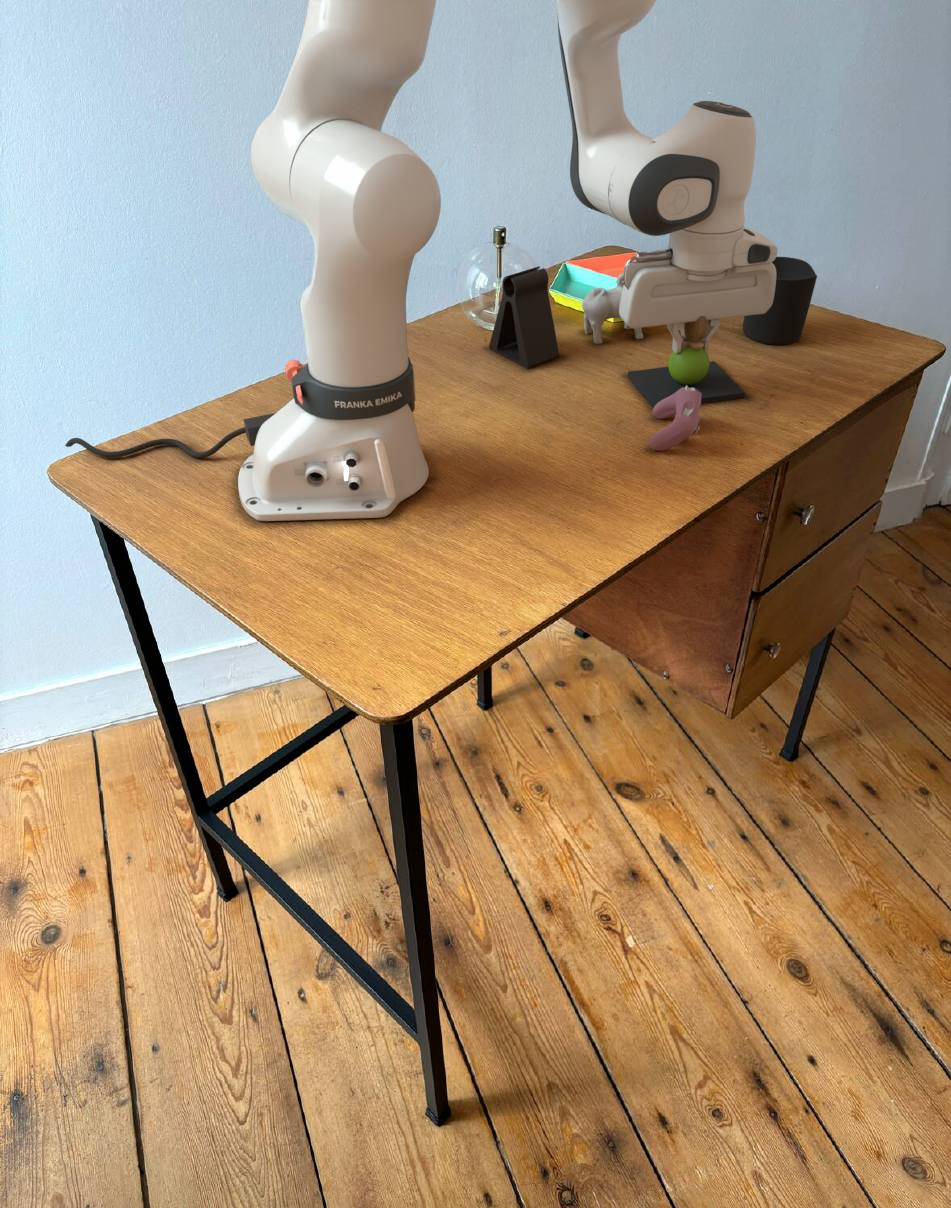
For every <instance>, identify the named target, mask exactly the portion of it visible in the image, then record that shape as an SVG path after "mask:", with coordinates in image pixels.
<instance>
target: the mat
mask: <svg viewBox="0 0 951 1208" xmlns="http://www.w3.org/2000/svg"><path fill="white" fill-rule="evenodd" d="M627 378H628V379H629V380H630V382H631V383H632V384H633V386H634V387H635V388H636V389H637V390H638V391H639V393H640V394H641V396H643V398H644V399H645V400H646V401H647V403H648V404H649V406H650V407H651V408H652V409H653V408H654V406H655V405H656V404H657V403H658V402H660V401H661V400H663V399H665V398H667V397H669V396H671V395H672V394H674V393H675V392H677V391H678V390H679V389H680V388H685V387H686V384H681V383H679V382H677V381H676V380H675V379H674V378H673V377H672V376H671V374H670V371H669V366H663V367H655V368H654V367H653V368H647V369H638V370H630V371H628V372H627ZM687 386H688V388H695V389H697V390H699V392H701V393H702V396H701V404H707V403H714V402H715V403H716V402H722V401H730V400H736V399H737V400H738V399H745V397H746V391H744V390H743V389H742V387H740V385H739V384H738V383H737V382H735V380H734V379H733V378H732V377H731V376H730V375H729V374H728V373H727V372H726V371H725V370H724V369H722V367H721V366H720V365H719V364H718V363H717V362H716V360H715V361H710V365H709V370H708V372H707V374H706V375H705V377H704V378H703V379H702V380H701V381H699V382H697V383H695V384H690V385H687Z"/></svg>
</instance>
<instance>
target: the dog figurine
mask: <svg viewBox="0 0 951 1208" xmlns="http://www.w3.org/2000/svg"><path fill="white" fill-rule="evenodd" d="M623 274H624V272H621V273H620V274H619V275H618V276H617V278H616V282H615V283H616V287H613V288H611V289H605V288H604V287H596V288H593V289H591V290H590V291H589V293H588V294H587V295H585V296H584V298H583V300H582V302H581V303H582V304H581V306H582V307H581V308H582V310H583V313H584V315H583V321H584V323H583V326H584V327H583V330H584V332H585V334H592V333H593V343H594V344H595V345H596V344H597V345H599V344H600V345H601V344H603V343H604V341H603V339H602V330H603V329H602V328H603V325H604V323H605V322H606V321H607V320H610V319H622V318H621V317H620V315H619V306H620V300H621V295H622V290H623V286H624V282H623ZM623 323H624V329H626V330H632V329H633V330H634V338H635V339H637V340H640V339H644V334H643V332H642V331H643V329H642V328H630V327H629V326H628V325H627V324H626V323H625V322H624V321H623Z"/></svg>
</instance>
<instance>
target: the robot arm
mask: <svg viewBox="0 0 951 1208" xmlns="http://www.w3.org/2000/svg"><path fill="white" fill-rule="evenodd" d="M656 2H657V0H556V5H557V34H558V43H559V51H560V57H561V58H560V59H561V64H562V71H563V77H564V82H565V83H564V84H565V89H566V95H567V103H568V108H569V114H570V121H571V122H570V123H571V129H572V131H571V133H572V143H571V152H570V163H569V179H570V185H571V188H572V190H573V194H575V196H576V198H577V199H578V201H579V202H580V203H581V204H582V205H583V206H584V207H586V208H588V209H590V210H593V211H596V212H598V213H601V214H604V215H606V216H609V217H610V218H612V219H614V220H616V221H617V222H619V223H621V224H623V225H625V226H628V227H629V228H631V229H633V230H635V231H637V232H638V233H641V234H644V235H648V236H651V237H659V236H666V235H669V237H668V246H667V249H658V250H654V251H640V252H639V251H638V252H636V254H635V256H633V257H631V258H629V260H627V261H626V262H625V263H624V267H623V273H624V274H623V282H624V286H623V290H622V295H621V300H620V306H619V315H620V317H621V318H620V319H621V320H622V321H623V323H624V322H625V323H626V324H627V325H628V326H629V327H630V328H632V329H634V328H651V327H659V326H666V327H667V329H668V331H669V333H670V335H671V337H672V344H671V349H672V352H673V351H674V352H675V353H676V354H678V353H681V352H682V351H684V350H686V349H687V346H688V342H689V341H688V340H687V339H685V337H684V336H682V335H681V333H680V330H682V329H683V323H687V322H695V321H697V319H698V318H699V317H700V316H705V318H706V322H707V331H706V335H705V337H704V338H703V339H702V340H701V341H700V342H701V343H703V344H704V346H703V347H702V349H704V350H705V351H708V350H709V345H710V339H712V337H714V335H715V333H716V332H717V330H718V329H719V328H720V327H721V320H722V319H730V318H739V317H744V316H749V315H758V314H764V313H766V312H767V311H768V310H769V308H770V307H771V306H772V303H773V299H774V294H775V286H776V268H775V266H774V264H773V263H772V262H773V261H774V260H775V258H776V257H778V256H777V255H778V249H779V248H778V246H777V245H776V244H775V243H774V242H773V241H772V240H770V239H769V238H767V237H766V236H765V235H764V234H762V233H760V232H758V231H756V230H754V229H751V228H748V227H745V221H746V218H745V217H746V216H745V202H746V199H747V196H748V194H749V192H750V190H751V186H752V179H753V173H754V172H753V171H754V166H755V160H756V159H755V158H756V145H757V130H756V122H755V119H754V117H753V116H752V115H751V113H750V112H749V111H747V110H746V109H743V108H741V107H739V106H735V105H733V104H726V103H723V102H719V101H713V100H700V101H696V102H693V103H692V104H691V105H690V107H689V110H688V111H687V113H686V114H685V115H684V116H683V117H682V118H681V119H680V121H678V122H677V123H676V124H675V125H674V126H672V127H671V128H670V129H668V130H667V131H664V133H661V134H660V135H658V136H655V137H653V138H652V137H650V136H647V135H645V134H643V133H641V132H640V131H639V130H638V129H637V128H636V127H635V126H634V125H633V124H632V122H631V121H630V120H629V118H628V117H627V115H626V111H625V107H624V99H623V89H622V82H621V81H622V80H621V72H620V64H619V53H618V51H619V43H620V39H621V36H622V35H623V34H625V33H626V32H628V31H630V30H631V29H633V28H634V27H636V26H637V25H638V24H640V23H641V22H642V21H643V20H644V19H645V18H646V17H647V15H648V14H649V13H650V11H651V10H652V9H653V7H654V6H655V4H656ZM436 4H437V0H308V5H307V11H306V17H305V22H304V25H303V30H302V34H301V38H300V41H299V43H298V44H299V45H298V48H297V51H296V54H295V57H294V60H293V62H292V65H291V68H290V70H289V72H288V76H287V78H286V80H285V83H284V86H283V89H282V91H281V93H280V96H279V98H278V100H277V103H276V106H275V107H274V108H273V110H272V112H271V113H269V115H267V116H266V117H265V118H264V119H263V121H262V122H260V125H259V126H258V128H257V129H256V132H255V133H254V137H253V140H252V143H251V149H250V162H251V166H252V171H253V175H254V177H255V180H256V181H257V183H258V185H259V186H260V188H261V190H262V191H263V192H264V194H265V195H266V196H267V198H268V199H269V200H270V201H271V202H272V204H273V205H274V206H275V208H277V210H279V211H280V212H281V213H282V214H283V215H285V216H286V217H288V218H290V219H291V220H293V221H294V222H297V223H299V224H300V225H302V226H303V227H305V228H307V229H308V231H309V234H310V236H311V238H312V242H313V247H314V249H313V250H314V256H313V257H314V258H313V268H312V276H311V280H310V281H311V282H310V284H309V285H307V287H306V288H305V290H304V291H303V292H302V295H301V298H300V305H299V306H300V315H301V321H302V329H303V337H304V345H305V352H306V359H307V363H306V364H305V365H304V366H303V364H302V363H301V362H300V361H299V360H297V359H290V360H289V361H287V362H286V364H285V365H284V371H285V375H286V379H287V380H288V381H289V382H291V389H292V395H293V398H292V399H291V400H290V401H289V402H288V403H286V404H285V405H284V406H283V407H282V408H280V409H279V410H278V411H277V412H274V413H268V414H264V415H258V416H252V417H248V418H244V419H243V425H244V427H241V428H238V429H236V430H234V431H231V432H230V433H228V434H226V436H224V437H223V438H222V439H221V440H220V441H218V442H217V443H216V444H215V445H213V446H212V447H211V448H209V449H207V450H206V451H201V452H198V451H194V450H193V449H191V448H190V447H189V446H187V444H185V443H184V442H182V441H180V440H178V439H174V438H157V439H152V440H149V441H146V442H143V443H141V444H138V445H135V446H133V447H132V446H131V447H129V448H126V449H123V450H116V451H105V450H101V449H98V448H97V447H95V446H93V445H92V444H90V443H89V442H87V441H86V440H84V439H82V438H79V437H72V438H70V439H69V440H68V441H67V442H66V443H65V445H64V447H67V448H71V447H73V446H74V445H75V444H77V445H80V446H82V447H83V448H84V449H86V450H88V451H89V452H91V453H93V454H94V455H96V456H99V457H103V458H110V459H111V458H121V457H127V456H130V455H132V454H135V453H138V452H141V451H144V450H147V449H149V448H152V447H157V446H163V445H172V446H176V447H178V448H180V449H181V450H182V451H183V452H184V453H186V454H187V455H188V456H190V457H192V458H194V459H204V458H205V459H206V458H208V457H211V456H212V455H214V454H215V453H217V452H218V451H219V450H221V449H222V448H223V447H224V446H225V445H227V444H228V443H229V442H230V441H231V440H233V439H235V438H237V437H239V436H241V435H243V434H245V436H246V438H247V441H248V443H249V445H250V447H253V454H251V455H249V456H248V457H247V459H246V460H244V462H243V463H242V465H241V466H240V469H239V472H238V475H237V476H238V477H237V487H238V495H239V496H238V497H239V500H240V504H241V506H242V509H244V510H245V512H246V513H247V514H248V515H249V516H250V517H251V518H253V519H255V520H256V521H259V522H278V521H279V522H281V521H283V522H285V521H286V522H287V521H313V520H314V521H315V520H316V521H317V520H342V519H343V520H344V519H351V520H352V519H379V518H385V517H387V516H389V515H390V514H391V513H392V512H394V510H395V509H396V508H397V507H398V506H399V504H400V503H401V502H403V501H404V500H406V499H407V498H409V497H411V496H413V495H415V494H416V493H417V492H419V491H420V490H421V488H423V486H425V484H426V483H427V481H428V478H429V475H430V468H429V465H428V462H427V461H426V458H425V455H424V453H423V450H422V445H421V443H420V442H421V441H420V438H419V435H418V430H417V424H416V419H415V413H414V411H415V410H416V399H417V398H416V397H417V396H416V381H415V380H416V378H415V372H414V371H415V370H414V368H413V363H412V362H411V358H410V357H409V348H408V346H409V345H408V326H407V325H408V324H407V323H408V322H407V321H408V320H407V292H408V286H409V279H410V275H411V271H412V270H411V269H412V266H413V263H414V260H415V256H416V255H417V254H418V253H419V252H420V251H421V250H422V249H423V248H424V247H425V246H426V245H427V244H428V243H429V241H430V239H431V238H432V236H433V234H434V233H435V230H436V228H437V226H438V223H439V219H440V217H441V210H442V209H441V208H442V196H441V189H440V184H439V182H438V179H437V177H436V175H435V173H434V172H433V170H432V169H431V167H430V166H429V165H428V164H427V163H426V162H425V161H424V160H423V159H422V158H421V157H420V156H419V155H418V154H417V153H416V152H415V151H414V150H412V149H411V148H410V147H409V146H408V145H407V144H406V143H404V141H402V140H401V139H399V138H397V137H396V136H393V135H390V134H388V133H386V132H384V131H382V129H383V125H384V123H385V121H386V118H387V115H388V113H389V111H390V109H391V106H392V105H393V102H394V101H395V98H396V96H397V95H398V94H399V92H400V90H401V89H402V87H403V86H404V84H406V83H407V82H408V80H410V79H411V78H413V76H415V74H417V73H418V71H419V70H420V68H421V66H423V63H424V60H425V58H426V52H427V48H428V43H429V38H430V34H431V28H432V23H433V19H434V14H435V9H436V6H437V5H436Z"/></svg>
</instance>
